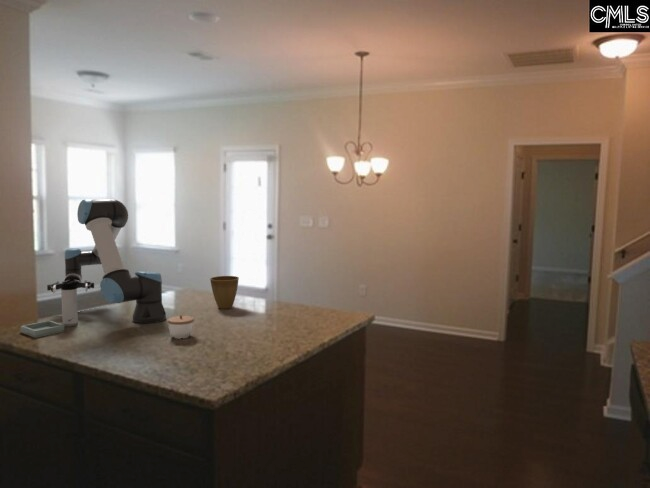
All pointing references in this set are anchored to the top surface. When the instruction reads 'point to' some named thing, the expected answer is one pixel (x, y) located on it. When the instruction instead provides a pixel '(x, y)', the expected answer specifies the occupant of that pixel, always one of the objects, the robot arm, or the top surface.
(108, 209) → the robot arm
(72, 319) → the travel mug
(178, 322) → the lidded jar
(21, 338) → the top surface
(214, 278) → the plant pot
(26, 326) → the tray
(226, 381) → the top surface
